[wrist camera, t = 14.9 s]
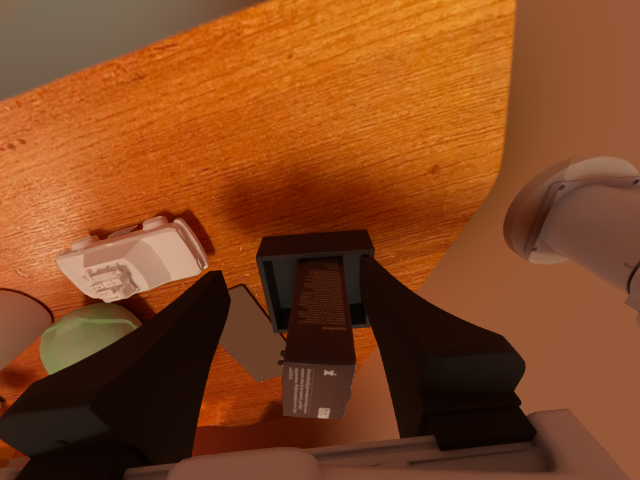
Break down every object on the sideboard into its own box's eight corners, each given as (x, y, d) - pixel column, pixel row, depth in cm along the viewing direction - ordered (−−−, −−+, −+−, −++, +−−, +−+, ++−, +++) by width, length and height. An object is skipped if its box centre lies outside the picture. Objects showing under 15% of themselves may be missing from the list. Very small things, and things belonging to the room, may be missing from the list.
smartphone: (243, 285, 26) (306, 370, 33) (244, 282, 26) (306, 366, 33) (183, 307, 27) (257, 384, 34) (186, 303, 27) (257, 380, 34)
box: (296, 246, 23) (281, 363, 13) (342, 248, 23) (365, 365, 13) (294, 293, 26) (281, 420, 16) (335, 295, 26) (349, 421, 16)
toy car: (75, 235, 23) (-9, 281, 17) (191, 203, 21) (144, 241, 15) (117, 283, 26) (58, 337, 20) (221, 257, 24) (192, 307, 18)
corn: (132, 318, 21) (193, 424, 32) (128, 272, 27) (181, 374, 37) (-7, 372, 17) (115, 474, 27) (23, 304, 23) (115, 409, 33)
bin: (366, 229, 23) (374, 248, 20) (364, 302, 28) (370, 327, 25) (263, 236, 23) (255, 256, 20) (278, 308, 28) (273, 333, 25)
